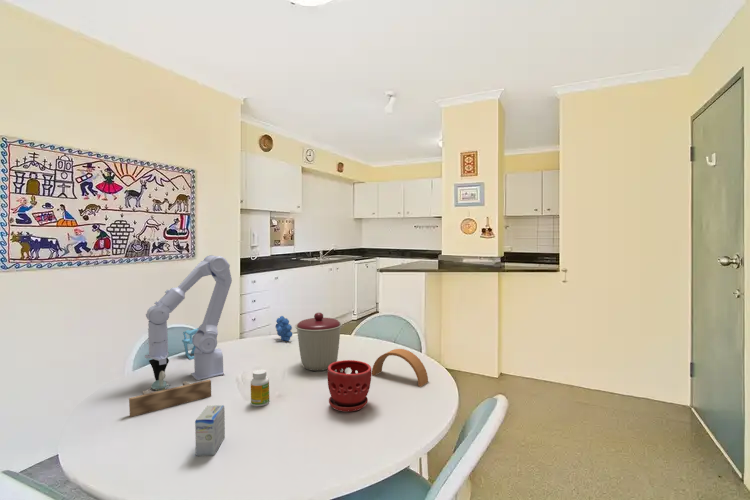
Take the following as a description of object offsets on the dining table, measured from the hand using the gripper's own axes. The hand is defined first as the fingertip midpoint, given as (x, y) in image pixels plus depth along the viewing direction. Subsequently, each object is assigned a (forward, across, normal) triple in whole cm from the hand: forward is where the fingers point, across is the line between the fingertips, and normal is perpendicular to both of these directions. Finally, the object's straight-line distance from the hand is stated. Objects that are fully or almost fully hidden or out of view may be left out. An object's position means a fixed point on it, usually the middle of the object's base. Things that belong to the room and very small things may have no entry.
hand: (159, 380), depth 133 cm
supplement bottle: (+2, +36, +21) cm, 42 cm away
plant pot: (+2, +55, +41) cm, 68 cm away
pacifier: (+2, +4, -1) cm, 5 cm away
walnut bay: (+2, +15, 0) cm, 15 cm away
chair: (+2, -28, +18) cm, 33 cm away
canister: (+2, +18, +52) cm, 55 cm away
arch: (+2, +48, +67) cm, 83 cm away
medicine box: (+2, +52, +2) cm, 52 cm away
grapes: (+2, -24, +57) cm, 62 cm away
